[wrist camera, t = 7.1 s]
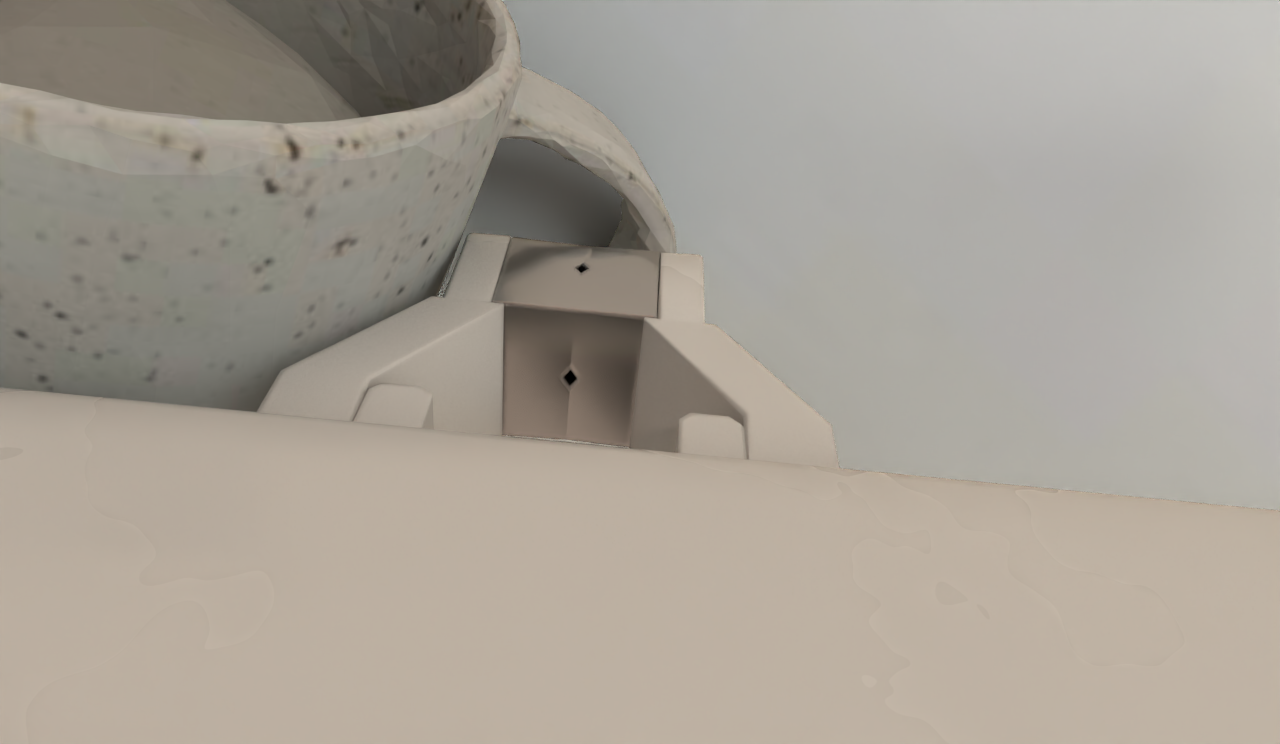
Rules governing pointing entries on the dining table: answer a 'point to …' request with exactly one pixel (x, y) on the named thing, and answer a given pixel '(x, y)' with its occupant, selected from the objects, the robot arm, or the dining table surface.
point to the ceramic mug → (253, 180)
